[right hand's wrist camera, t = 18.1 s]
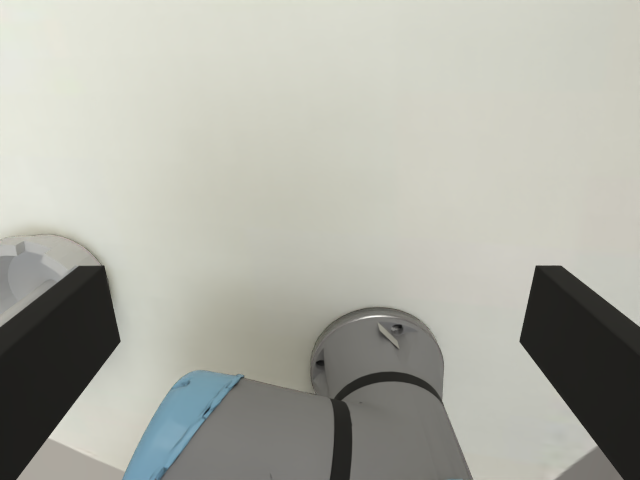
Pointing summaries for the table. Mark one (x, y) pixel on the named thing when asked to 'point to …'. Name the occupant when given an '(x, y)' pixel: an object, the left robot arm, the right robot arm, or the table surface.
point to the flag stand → (35, 268)
